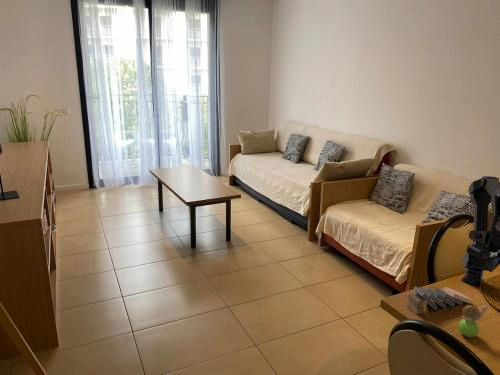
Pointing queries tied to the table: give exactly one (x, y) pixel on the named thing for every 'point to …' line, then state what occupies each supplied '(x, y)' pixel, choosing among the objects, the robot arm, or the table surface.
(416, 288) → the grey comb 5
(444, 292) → the domino
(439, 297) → the domino
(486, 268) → the robot arm
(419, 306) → the stop block
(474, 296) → the table surface
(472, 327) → the snail figurine
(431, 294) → the domino
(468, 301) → the domino
